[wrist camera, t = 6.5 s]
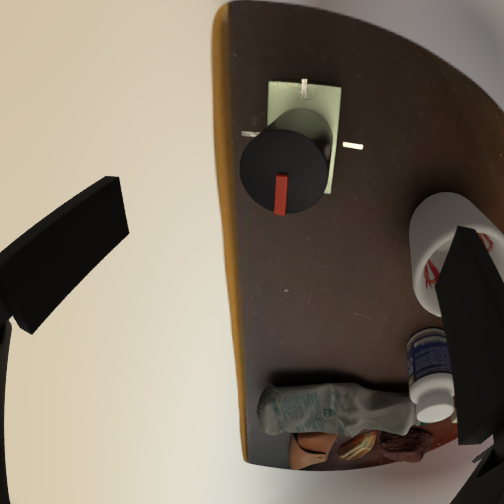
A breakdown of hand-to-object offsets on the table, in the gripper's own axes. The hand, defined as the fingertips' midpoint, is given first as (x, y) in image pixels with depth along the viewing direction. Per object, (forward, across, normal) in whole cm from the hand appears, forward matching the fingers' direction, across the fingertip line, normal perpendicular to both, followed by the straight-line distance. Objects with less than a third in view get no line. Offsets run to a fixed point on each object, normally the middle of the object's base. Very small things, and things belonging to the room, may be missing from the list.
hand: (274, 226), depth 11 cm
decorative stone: (+16, +16, -52) cm, 56 cm away
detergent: (+16, +10, -34) cm, 39 cm away
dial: (+12, -1, 0) cm, 12 cm away
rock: (+16, +24, -47) cm, 55 cm away
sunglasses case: (+16, +8, -54) cm, 57 cm away
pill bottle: (+16, +16, -21) cm, 31 cm away
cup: (+16, +13, -7) cm, 22 cm away
